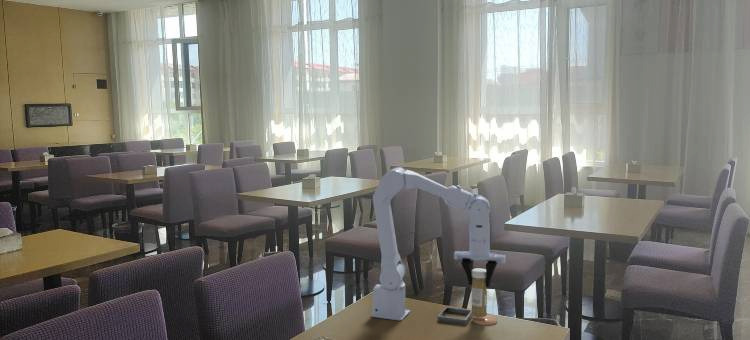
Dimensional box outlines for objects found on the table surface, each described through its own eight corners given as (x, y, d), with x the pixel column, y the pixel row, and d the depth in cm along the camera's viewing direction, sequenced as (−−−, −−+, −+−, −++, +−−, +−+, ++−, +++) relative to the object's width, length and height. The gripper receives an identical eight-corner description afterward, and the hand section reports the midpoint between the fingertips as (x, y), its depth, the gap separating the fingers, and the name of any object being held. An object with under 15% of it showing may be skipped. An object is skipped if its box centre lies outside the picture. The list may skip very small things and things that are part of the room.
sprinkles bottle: (490, 315, 166) (491, 270, 165) (478, 319, 163) (479, 273, 162) (478, 311, 170) (479, 266, 168) (467, 314, 167) (468, 269, 166)
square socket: (437, 321, 167) (437, 316, 166) (445, 311, 174) (445, 306, 174) (466, 325, 163) (466, 320, 163) (473, 314, 171) (473, 310, 171)
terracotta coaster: (470, 323, 165) (470, 321, 165) (475, 314, 171) (475, 313, 171) (494, 326, 162) (494, 324, 162) (499, 318, 168) (499, 316, 168)
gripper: (451, 240, 163) (451, 286, 165) (502, 244, 158) (502, 292, 159) (457, 234, 170) (457, 279, 171) (507, 238, 164) (506, 284, 166)
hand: (479, 285), depth 166 cm, fingers closed on sprinkles bottle, 4 cm apart
